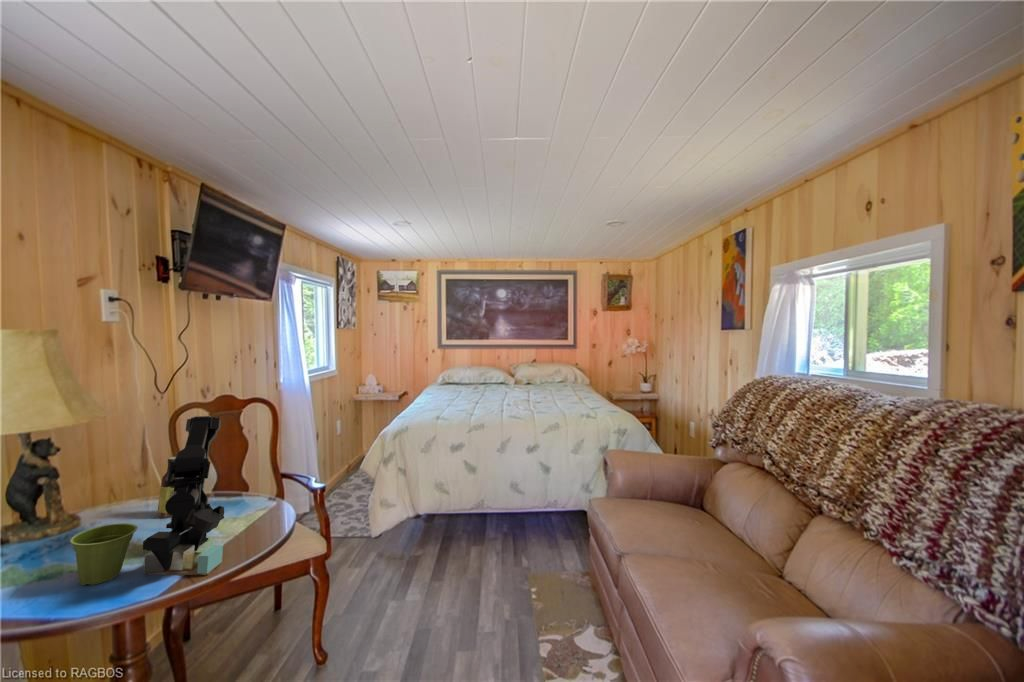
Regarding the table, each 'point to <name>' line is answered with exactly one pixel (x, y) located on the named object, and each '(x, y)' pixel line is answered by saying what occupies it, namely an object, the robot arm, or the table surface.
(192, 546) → the cream rectangular block
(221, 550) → the turquoise rectangular block
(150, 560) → the dark grey cube
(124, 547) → the plant pot
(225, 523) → the table surface
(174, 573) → the board
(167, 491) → the sauce bottle
